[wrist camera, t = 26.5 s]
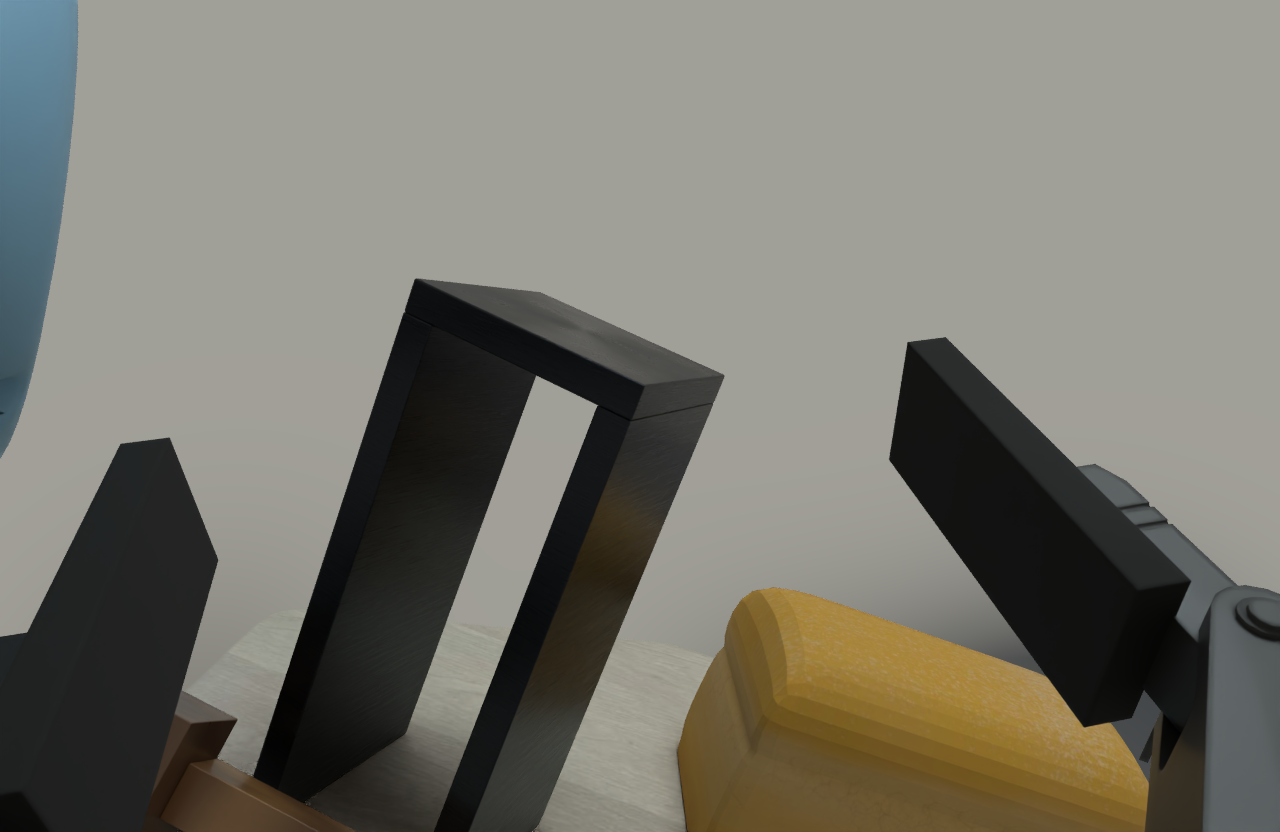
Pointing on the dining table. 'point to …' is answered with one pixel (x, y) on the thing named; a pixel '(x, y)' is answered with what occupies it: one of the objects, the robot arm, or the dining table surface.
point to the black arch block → (448, 528)
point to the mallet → (218, 784)
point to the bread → (888, 734)
